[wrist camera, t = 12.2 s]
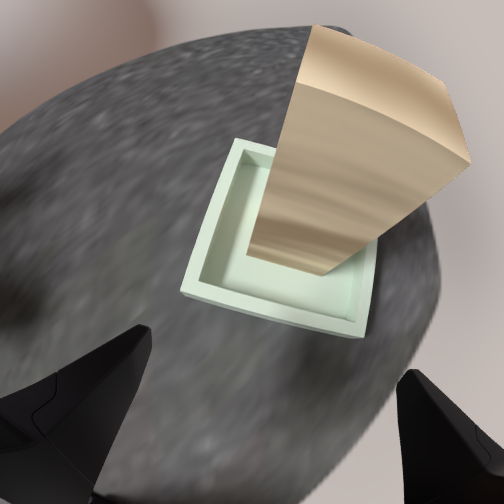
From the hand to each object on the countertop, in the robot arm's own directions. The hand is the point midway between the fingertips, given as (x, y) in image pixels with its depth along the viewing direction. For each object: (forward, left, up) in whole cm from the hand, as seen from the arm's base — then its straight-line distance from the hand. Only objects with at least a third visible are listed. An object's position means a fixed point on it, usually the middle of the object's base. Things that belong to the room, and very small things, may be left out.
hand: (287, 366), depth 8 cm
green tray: (+8, 0, -8) cm, 11 cm away
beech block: (+8, 0, -8) cm, 11 cm away
